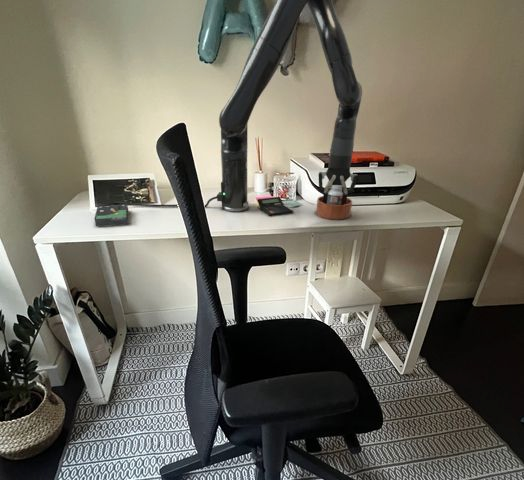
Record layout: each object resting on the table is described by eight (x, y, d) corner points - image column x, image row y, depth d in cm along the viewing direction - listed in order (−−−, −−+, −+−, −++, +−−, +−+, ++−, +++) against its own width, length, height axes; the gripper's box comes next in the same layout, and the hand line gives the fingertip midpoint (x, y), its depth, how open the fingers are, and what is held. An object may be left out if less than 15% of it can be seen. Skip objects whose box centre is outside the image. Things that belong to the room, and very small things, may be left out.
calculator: (270, 216, 133) (270, 207, 131) (257, 206, 142) (257, 198, 140) (292, 213, 136) (293, 205, 135) (278, 204, 145) (279, 196, 143)
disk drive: (98, 213, 132) (96, 227, 120) (96, 205, 130) (94, 218, 119) (128, 211, 134) (129, 224, 123) (127, 203, 132) (127, 216, 121)
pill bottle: (340, 215, 134) (344, 187, 128) (324, 214, 135) (328, 185, 128) (340, 211, 138) (345, 183, 132) (325, 209, 139) (329, 181, 133)
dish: (315, 218, 132) (317, 204, 129) (316, 207, 142) (318, 194, 139) (350, 220, 131) (353, 206, 128) (349, 210, 141) (351, 196, 138)
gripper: (362, 151, 126) (353, 202, 137) (320, 149, 128) (314, 199, 138) (363, 156, 120) (354, 208, 131) (319, 153, 122) (313, 205, 132)
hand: (333, 203), depth 134 cm, fingers closed on pill bottle, 5 cm apart
